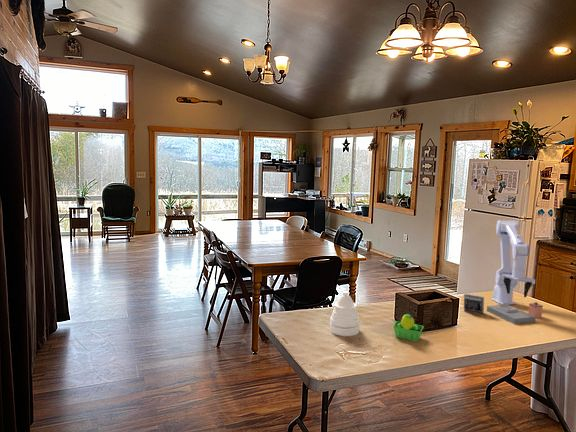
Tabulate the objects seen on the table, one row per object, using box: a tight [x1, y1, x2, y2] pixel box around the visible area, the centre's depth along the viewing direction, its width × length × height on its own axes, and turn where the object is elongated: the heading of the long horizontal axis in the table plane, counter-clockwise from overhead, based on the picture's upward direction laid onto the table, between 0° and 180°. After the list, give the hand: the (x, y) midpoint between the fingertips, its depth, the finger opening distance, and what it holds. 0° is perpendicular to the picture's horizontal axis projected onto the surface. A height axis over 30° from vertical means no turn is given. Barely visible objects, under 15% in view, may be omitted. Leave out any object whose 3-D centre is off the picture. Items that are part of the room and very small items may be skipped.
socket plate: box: [486, 304, 536, 325], centre depth 213 cm, size 18×12×2 cm, turn 16°
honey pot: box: [329, 290, 360, 337], centre depth 192 cm, size 13×13×18 cm
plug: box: [527, 301, 544, 319], centre depth 214 cm, size 4×4×7 cm
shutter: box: [497, 303, 518, 313], centre depth 215 cm, size 6×6×2 cm
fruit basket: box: [392, 313, 424, 342], centre depth 185 cm, size 11×9×11 cm
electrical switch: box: [463, 292, 485, 315], centre depth 218 cm, size 9×5×9 cm, turn 57°
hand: (516, 295), depth 216 cm, fingers open, 7 cm apart
